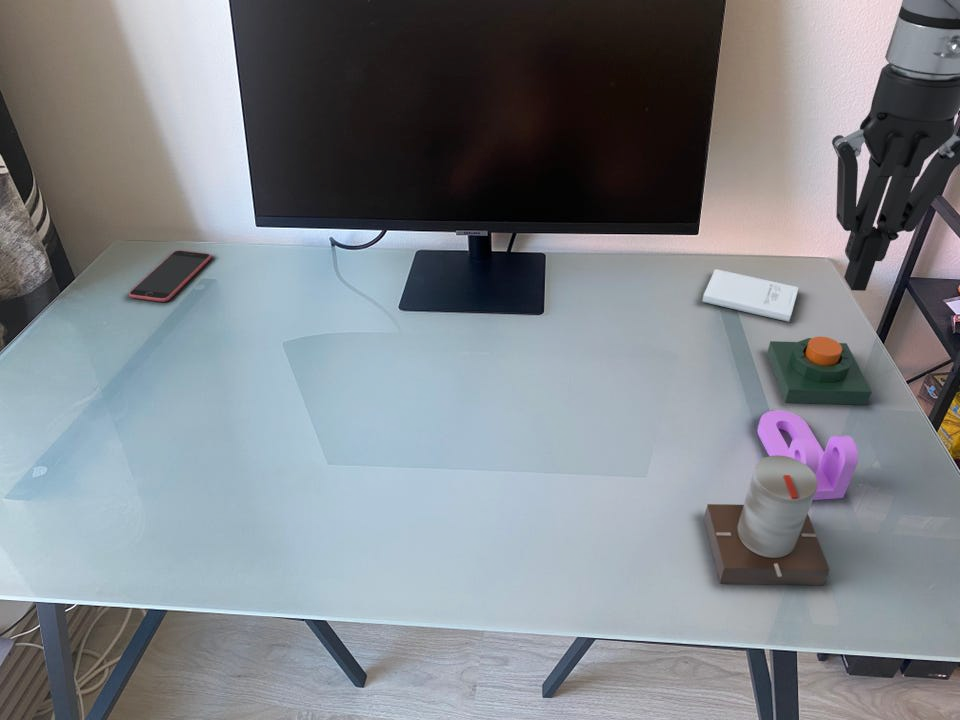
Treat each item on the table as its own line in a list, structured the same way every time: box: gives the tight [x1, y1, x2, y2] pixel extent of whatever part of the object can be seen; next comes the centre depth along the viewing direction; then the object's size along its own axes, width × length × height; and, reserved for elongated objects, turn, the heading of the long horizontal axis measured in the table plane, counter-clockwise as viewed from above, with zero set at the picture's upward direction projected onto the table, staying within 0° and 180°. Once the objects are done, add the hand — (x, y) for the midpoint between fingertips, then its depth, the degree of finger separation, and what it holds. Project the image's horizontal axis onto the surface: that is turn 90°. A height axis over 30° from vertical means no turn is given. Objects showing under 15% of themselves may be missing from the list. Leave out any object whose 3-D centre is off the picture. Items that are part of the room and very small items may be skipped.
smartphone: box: [128, 250, 212, 303], centre depth 121 cm, size 7×1×14 cm
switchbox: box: [766, 337, 873, 406], centre depth 97 cm, size 10×10×4 cm
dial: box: [737, 455, 818, 558], centre depth 73 cm, size 6×6×9 cm
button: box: [805, 336, 842, 366], centre depth 95 cm, size 4×4×2 cm
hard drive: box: [702, 268, 800, 323], centre depth 112 cm, size 2×8×12 cm
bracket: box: [756, 409, 859, 501], centre depth 85 cm, size 13×6×7 cm, turn 4°
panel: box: [703, 503, 830, 586], centre depth 76 cm, size 10×10×3 cm
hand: (854, 283), depth 85 cm, fingers closed
